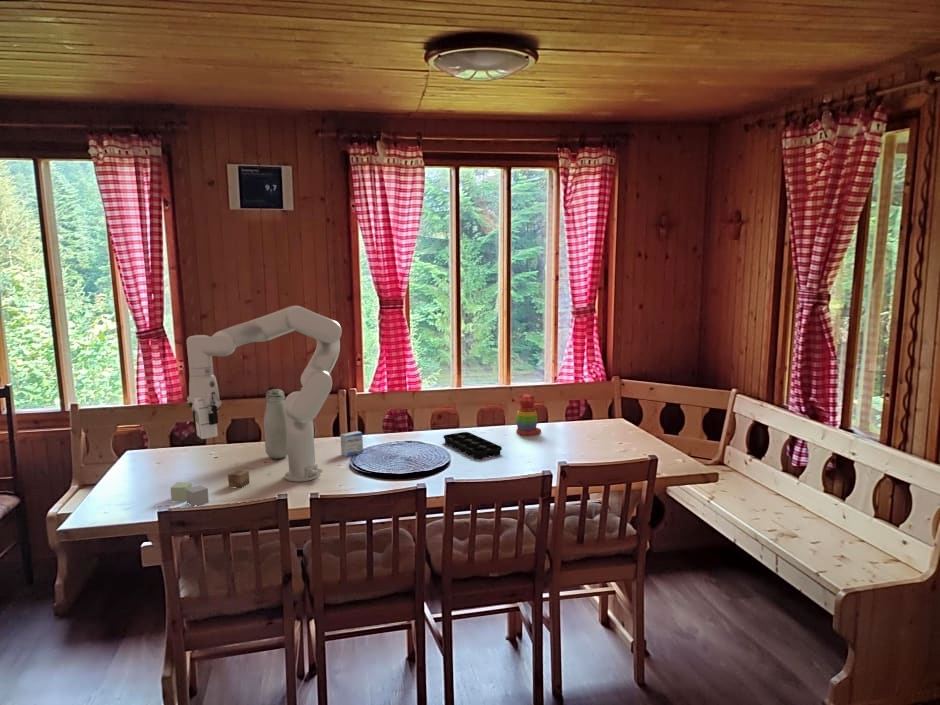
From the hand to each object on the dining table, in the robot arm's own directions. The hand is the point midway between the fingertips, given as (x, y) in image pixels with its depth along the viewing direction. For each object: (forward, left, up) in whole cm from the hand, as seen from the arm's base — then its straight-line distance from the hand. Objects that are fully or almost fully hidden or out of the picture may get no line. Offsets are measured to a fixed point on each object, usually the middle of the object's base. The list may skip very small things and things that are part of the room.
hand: (205, 422), depth 228 cm
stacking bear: (-65, -116, -25) cm, 136 cm away
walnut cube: (-4, -8, -25) cm, 26 cm away
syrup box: (0, 0, -5) cm, 5 cm away
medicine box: (-15, -56, -25) cm, 63 cm away
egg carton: (-55, -85, -25) cm, 104 cm away
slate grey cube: (-5, +10, -25) cm, 27 cm away
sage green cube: (+3, +10, -25) cm, 27 cm away
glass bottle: (+8, -38, -25) cm, 46 cm away
